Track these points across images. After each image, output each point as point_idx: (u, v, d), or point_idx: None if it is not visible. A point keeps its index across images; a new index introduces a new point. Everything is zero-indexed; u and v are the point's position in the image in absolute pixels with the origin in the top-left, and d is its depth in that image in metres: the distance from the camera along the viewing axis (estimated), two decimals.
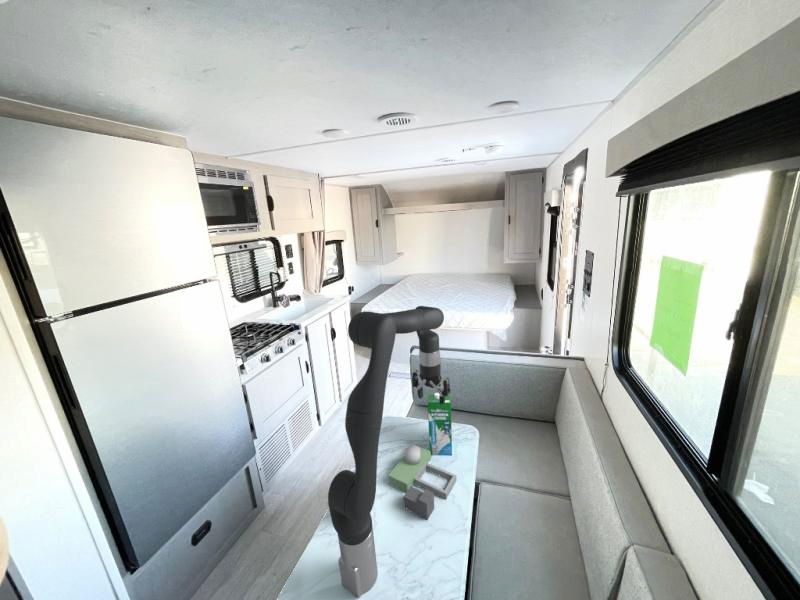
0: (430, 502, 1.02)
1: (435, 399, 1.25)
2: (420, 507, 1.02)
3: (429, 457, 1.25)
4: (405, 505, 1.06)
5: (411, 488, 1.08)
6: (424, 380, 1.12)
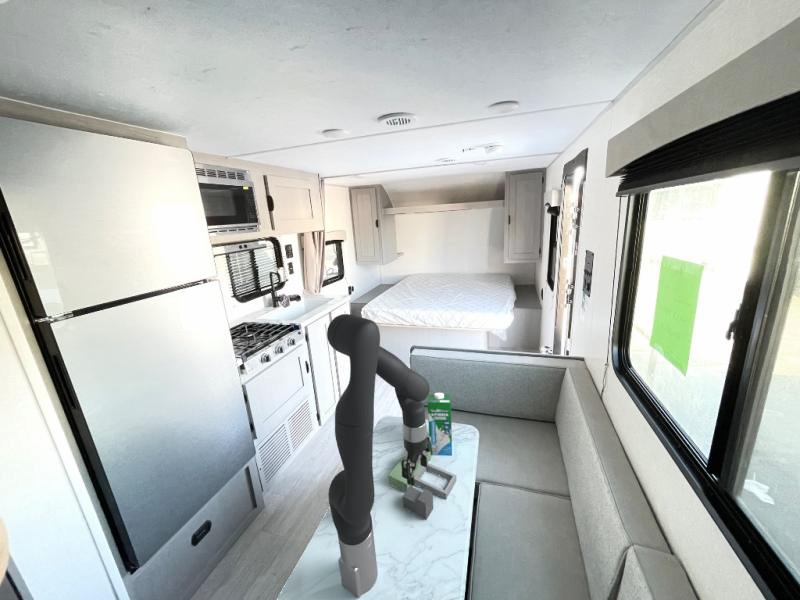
0: (429, 502, 1.02)
1: (435, 399, 1.25)
2: (419, 507, 1.02)
3: (429, 457, 1.25)
4: (404, 505, 1.06)
5: (410, 488, 1.08)
6: (419, 457, 0.98)
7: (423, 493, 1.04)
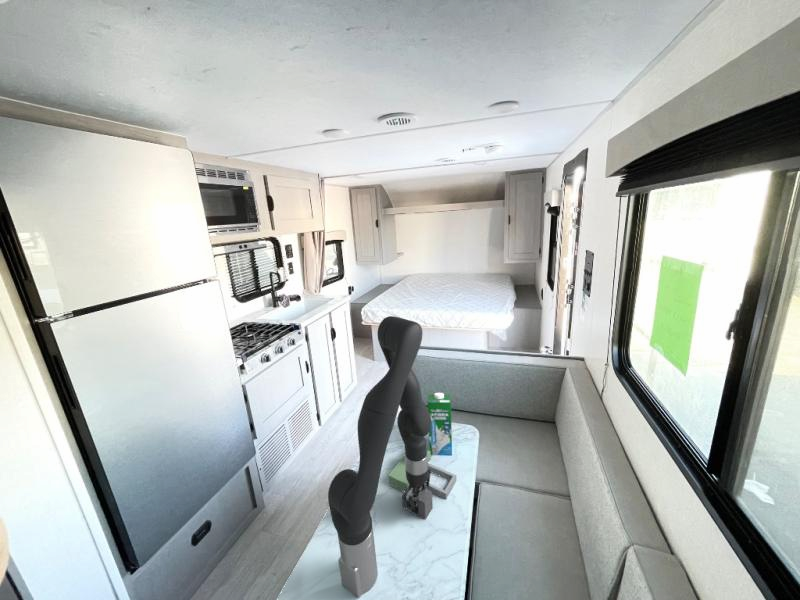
0: (428, 501, 1.02)
1: (435, 399, 1.25)
2: (418, 506, 1.03)
3: (429, 457, 1.25)
4: (403, 504, 1.06)
5: None
6: (420, 488, 1.01)
7: (422, 492, 1.04)
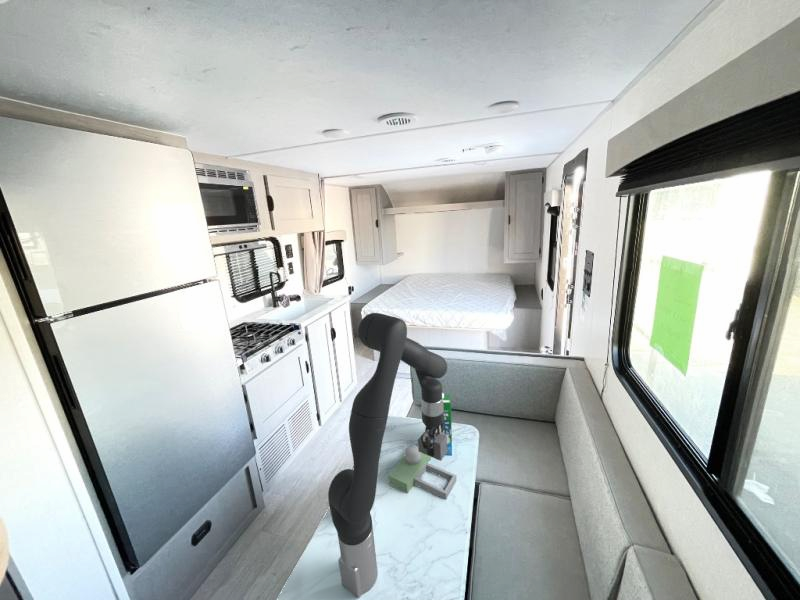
0: (443, 444, 1.08)
1: None
2: (433, 448, 1.08)
3: (429, 457, 1.25)
4: (419, 448, 1.12)
5: None
6: (436, 431, 1.07)
7: (437, 436, 1.10)
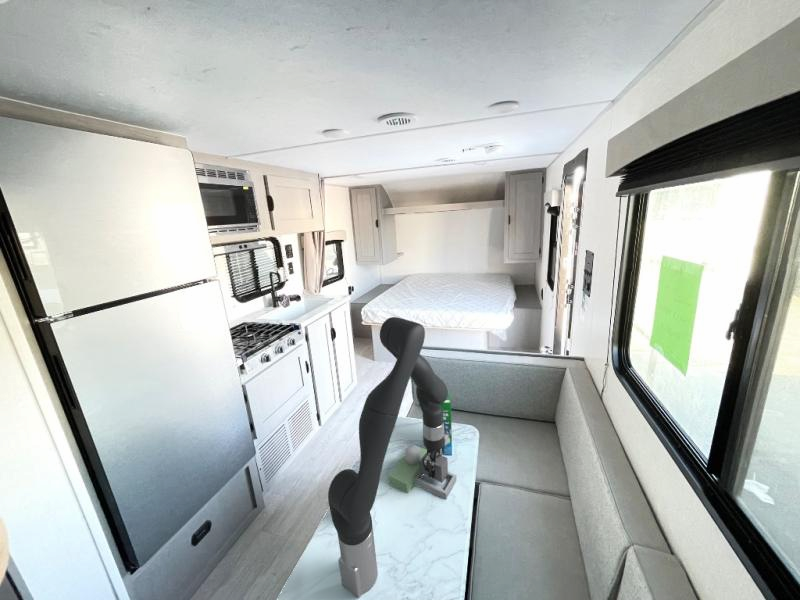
0: (444, 466, 1.11)
1: None
2: (435, 471, 1.11)
3: None
4: (421, 470, 1.15)
5: (426, 455, 1.17)
6: (437, 454, 1.10)
7: (438, 458, 1.12)
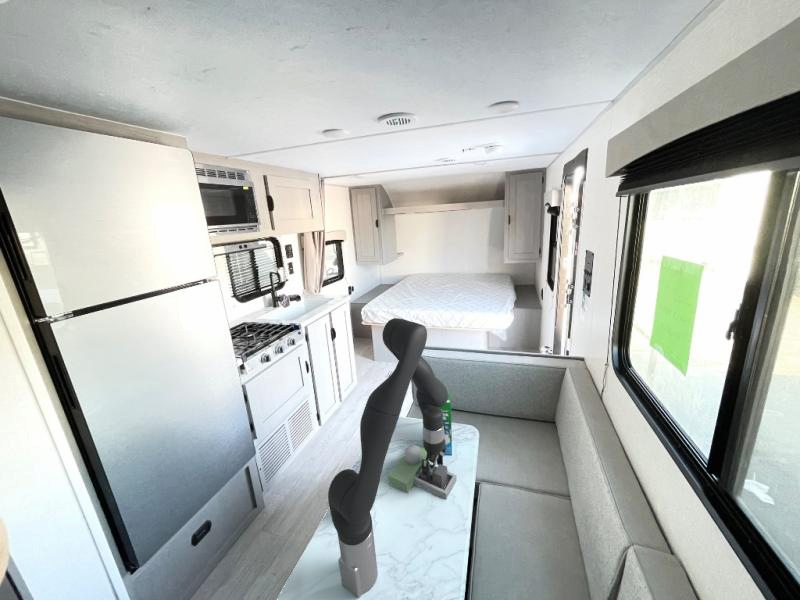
0: (444, 475, 1.12)
1: None
2: (435, 480, 1.12)
3: None
4: (421, 479, 1.16)
5: None
6: (437, 457, 1.10)
7: (438, 467, 1.14)
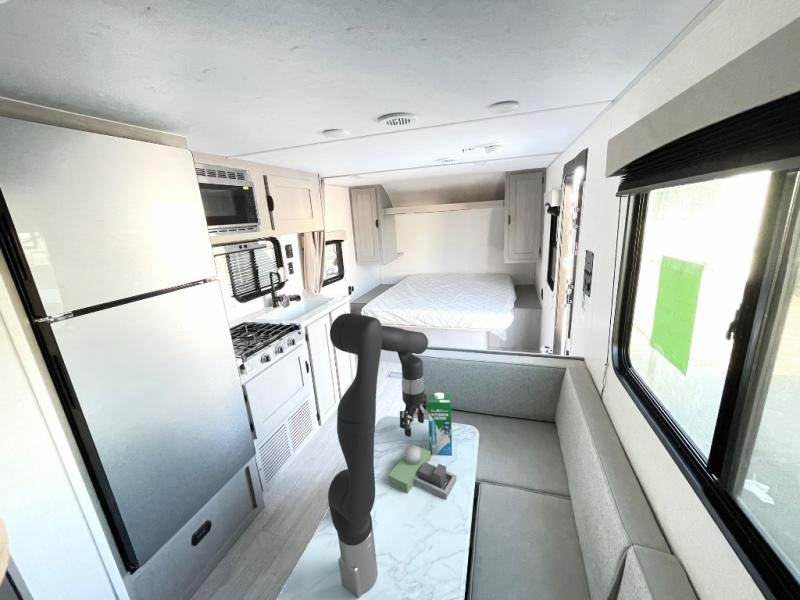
0: (443, 475, 1.12)
1: (435, 399, 1.25)
2: (434, 480, 1.12)
3: (429, 457, 1.25)
4: None
5: (425, 464, 1.18)
6: (416, 410, 1.05)
7: (437, 467, 1.14)
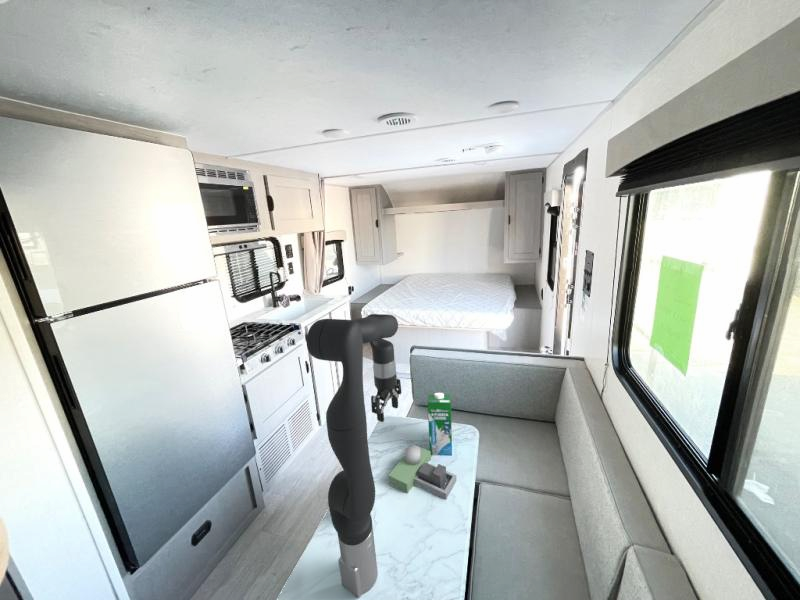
0: (443, 475, 1.12)
1: (435, 399, 1.25)
2: (433, 480, 1.12)
3: (429, 457, 1.25)
4: None
5: (425, 464, 1.18)
6: (388, 394, 1.04)
7: (437, 468, 1.14)
